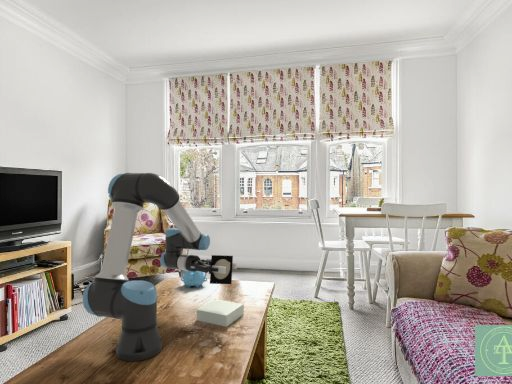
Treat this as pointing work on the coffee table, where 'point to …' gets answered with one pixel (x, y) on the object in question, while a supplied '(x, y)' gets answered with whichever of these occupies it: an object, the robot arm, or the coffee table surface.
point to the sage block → (220, 312)
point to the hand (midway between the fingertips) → (230, 268)
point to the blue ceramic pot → (193, 278)
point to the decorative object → (223, 262)
